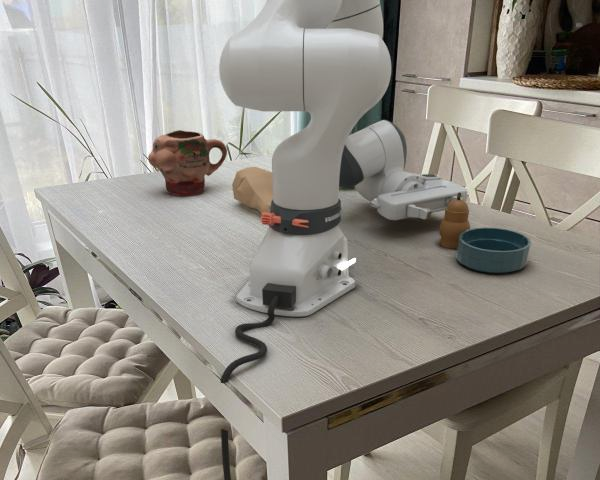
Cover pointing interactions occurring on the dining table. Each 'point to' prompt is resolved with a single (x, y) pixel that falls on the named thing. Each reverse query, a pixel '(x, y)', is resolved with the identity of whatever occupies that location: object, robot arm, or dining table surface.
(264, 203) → the squash
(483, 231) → the bowl
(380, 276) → the dining table surface
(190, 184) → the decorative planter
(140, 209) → the dining table surface
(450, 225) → the pear
